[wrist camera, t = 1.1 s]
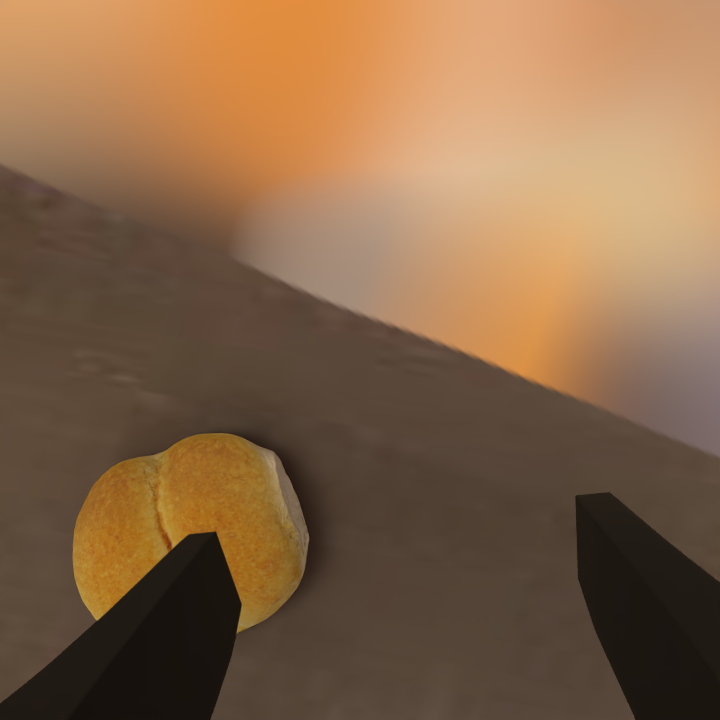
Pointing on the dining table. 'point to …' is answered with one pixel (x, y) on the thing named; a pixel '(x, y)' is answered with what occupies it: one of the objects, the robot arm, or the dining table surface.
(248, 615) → the bread roll
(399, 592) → the dining table surface
